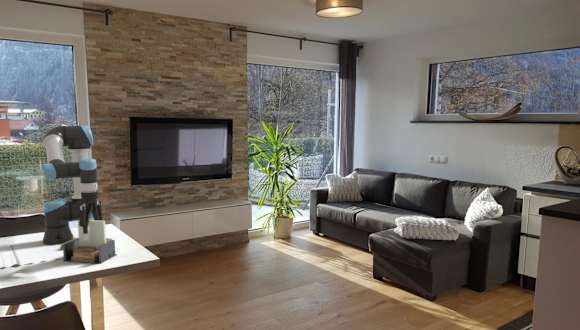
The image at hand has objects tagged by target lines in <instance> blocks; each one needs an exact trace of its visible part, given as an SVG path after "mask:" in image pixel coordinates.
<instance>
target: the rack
mask: <svg viewBox="0 0 580 330" xmlns="http://www.w3.org/2000/svg"><path fill="white" fill-rule="evenodd" d="M76 238H77V239H75V238H74V239H75V240H72V241H70V242H67V243H65V244H63V250H62V252H63V253H62V254H63V260H62V262H65V263H76V264H77V263H78V264H79V263H80V264H94V265H101V264H103V263H105V262H107V261H108V260H111V259H112V258H114V257H116V256H118V255H119V254H117V253H116V240H115V239H112V240H111V241H109V242H107V243H105V244H103V245H101V246H99V247H98V248H99V260H98V261H96V262H94V263H92V262H78V261H72V260H71V257H72V256H73V249H74V248H76V247H78V246H79V237H76Z"/></svg>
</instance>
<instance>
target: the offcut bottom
mask: <svg viewBox="0 0 580 330" xmlns="http://www.w3.org/2000/svg"><path fill="white" fill-rule="evenodd" d="M71 260H72V261H78V262H92V263H94V262H96V261H98V260H99V256H98V257H96V258H82V257H73V256H72V257H71Z"/></svg>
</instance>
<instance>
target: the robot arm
mask: <svg viewBox="0 0 580 330" xmlns="http://www.w3.org/2000/svg"><path fill="white" fill-rule="evenodd" d="M42 145H43V147H44V148H45V153H46V162H47V163H44V164H43V165H42V166H43V177H44V179H45V180H56V179H57V180H58V179H71V178H72V180H73V181H72V183H73V195H72V196H71V200H68V198H58V199H54V200H50V201H47V202H46V203H45V204H44V205H43V206H44V207H43V213H44V223H45V224H44V225H45V230H44V234H43V237H42V243H43V245H48V246H53V245H55V246H56V245H62V244H63V243H65V242H68V241H70V240H73V239H74V234H73V233H72V230H71V227H70V222H76V221H77V222H78V220H79V226H81V227H83V233H84V240H90V228H89V226H88V223H89V220H97V221H104V220H103V212H102V211H103V210H102V209H103V208H102V200H98V199H99V191H98V189H99V188H98V165H97V160H96V159H94V158H90V157H89V152H90V151H91V149H92V147H93V146H94V138H93V133H92V129H91V128H90V126H88V125H58V126H54V127H52V128H51V129H49V130H48V131H46V133H44V136H43V138H42ZM63 147H67V150H68V151H69V152H70V154H71V161H70V162H65V157H64V151H63Z"/></svg>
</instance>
